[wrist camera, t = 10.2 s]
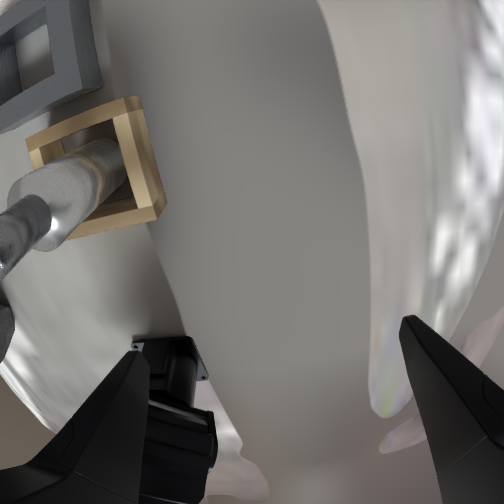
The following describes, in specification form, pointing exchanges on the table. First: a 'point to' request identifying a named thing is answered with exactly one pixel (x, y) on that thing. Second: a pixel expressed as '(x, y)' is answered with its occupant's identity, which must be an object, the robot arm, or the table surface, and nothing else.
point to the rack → (134, 155)
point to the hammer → (5, 329)
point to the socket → (63, 56)
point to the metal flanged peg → (58, 199)
